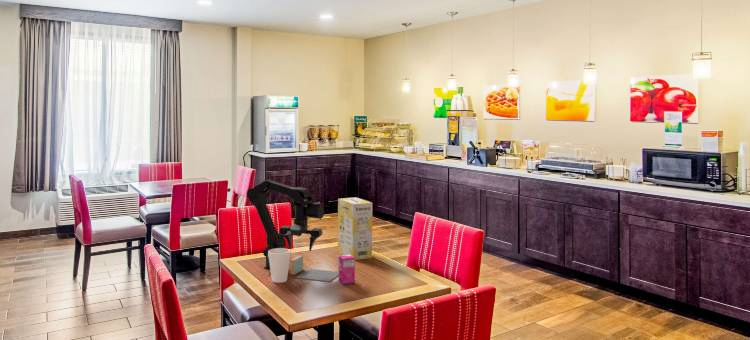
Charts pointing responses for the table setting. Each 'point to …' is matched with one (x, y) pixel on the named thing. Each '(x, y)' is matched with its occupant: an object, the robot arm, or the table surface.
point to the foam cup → (279, 264)
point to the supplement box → (346, 269)
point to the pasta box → (355, 227)
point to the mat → (318, 275)
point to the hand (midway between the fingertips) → (300, 249)
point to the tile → (296, 264)
